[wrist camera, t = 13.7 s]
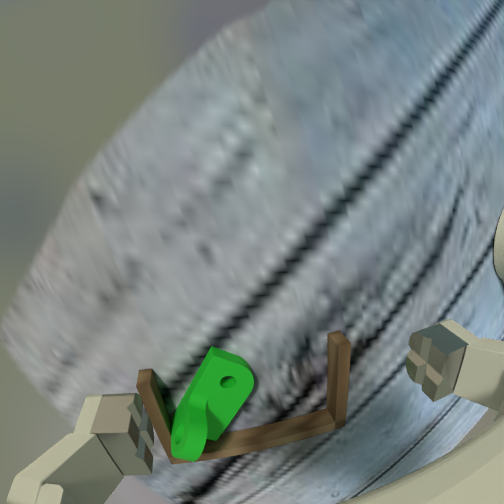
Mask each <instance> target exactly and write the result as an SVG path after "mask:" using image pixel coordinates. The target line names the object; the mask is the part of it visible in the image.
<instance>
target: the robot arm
mask: <svg viewBox="0 0 504 504" xmlns="http://www.w3.org/2000/svg"><path fill="white" fill-rule="evenodd" d="M494 264H495V269H496V272H497V274H498V276H499V277H500V278H501V279H502V280H503V282H504V209H503V211H502V214H501V216H500V219H499V222H498V226H497V230H496V235H495V242H494ZM409 346H410V348H411V350H410V352H409V354H408V355H407V358H406V369H407V373H408V375H409V377H410V378H411V379H412V380H413V381H414V382H415V383H418V384H421V385H422V391H423V392H424V393H425V394H426V395H427V396H428V397H429V398H430V399H431V400H432V401H433V402H434V401H437V400H439V399H441V398H443V397H445V396H447V395H449V394H451V393H453V394H455V395H458V396H460V397H463V398H465V399H468V400H470V401H473V402H475V403H478V404H481V405H483V406H486V407H489V408H491V409H494V410H497V411H498V413H497V415H496V417H495V419H494V422H493V423H492V424H491V425H490V426H488V427H487V428H485V429H484V430H483V431H481V432H480V433H478V434H477V435H475V436H474V437H472V438H471V439H469V440H468V441H466V442H465V443H463V444H462V445H460V446H459V447H457V448H455V449H454V450H452V451H450V452H449V453H447V454H445V455H443V456H442V457H440V458H438V459H436V460H435V461H433V462H431V463H429V464H427V465H425V466H424V467H422V468H420V469H418V470H416V471H414V472H412V473H410V474H408V475H406V476H404V477H402V478H399V479H397V480H395V481H393V482H391V483H389V484H386V485H384V486H382V487H379V488H377V489H375V490H372V491H370V492H367V493H365V494H362V495H359V496H357V497H354V498H351V499H349V500H346V501H343V502H340V503H337V504H504V341H498V340H493V339H487V338H481V339H479V338H478V337H476V336H475V335H473V334H472V333H470V332H469V331H467V330H466V329H464V328H463V327H462V326H460V325H459V324H457V323H456V322H454V321H453V320H450V319H446V320H444V321H441V322H439V323H437V324H435V325H433V326H430V327H427V328H425V329H422V330H419V331H417V332H414V333H412V335H411V336H410V339H409ZM153 445H154V432H153V426H152V423H151V420H150V417H149V415H148V414H147V413H145V412H144V411H143V401H142V399H141V397H140V395H139V394H138V393H125V394H105V395H89V396H87V397H86V399H85V401H84V404H83V407H82V410H81V413H80V415H79V418H78V421H77V424H76V427H75V430H74V433H73V434H68V435H66V436H65V437H64V438H63V439H61V440H60V441H59V442H58V443H56V444H55V445H54V446H53V447H52V448H50V449H49V450H48V451H46V452H45V453H44V454H43V455H41V456H40V457H39V458H38V459H36V460H35V461H34V462H33V463H31V464H30V465H29V466H28V467H27V468H25V469H24V470H23V471H21V472H20V473H19V474H17V475H16V476H15V479H14V481H13V484H12V487H11V489H10V492H9V495H8V498H7V501H6V504H104V503H105V501H106V500H107V499H108V497H109V496H110V495H111V493H112V492H113V491H114V490H115V488H116V487H117V486H118V484H119V483H120V482H121V480H122V479H123V478H124V476H127V475H150V474H152V467H153V455H152V454H151V452H150V448H151V447H152V446H153Z"/></svg>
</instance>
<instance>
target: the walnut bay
mask: <svg viewBox="0 0 504 504" xmlns="http://www.w3.org/2000/svg"><path fill="white" fill-rule="evenodd" d="M350 351H351V343H350V342H349V340H348V339H347V338H346V337H345V336H344V335H343V334H342V333H341V332H340V331H336V332H332V333H328V372H327V408H326V409H323V410H319V411H316V412H313V413H309V414H306V415H302V416H299V417H295V418H291V419H288V420H284V421H280V422H276V423H271V424H267V425H263V426H258V427H254V428H249V429H244V430H239V431H234V432H229V433H223V434H221V435H220V437H219V438H218V440H217V441H214V440H209V439H206V443H205V446H204V449H203V451H202V453H201V455H200V457H199V458H198V459H197V460H196V461H194V462H197V461H204V460H211V459H217V458H223V457H229V456H234V455H239V454H245V453H249V452H254V451H259V450H263V449H267V448H272V447H276V446H280V445H284V444H288V443H291V442H295V441H299V440H302V439H306V438H309V437H312V436H316V435H319V434H322V433H325V432H328V431H331V430H334V429H337V428H340V427H343V426H345V421H346V411H347V399H348V386H349V371H350ZM136 387H137V390H138V392H139V395H140V397H141V399H142V401H143V404H144V407H145V409H146V411H147V413H148V415H149V417H150V420H151V422H152V425H153V427H154V429H155V431H156V433H157V435H158V438H159V440H160V442H161V444H162V446H163V448H164V450H165V452H166V454H167V456H168V458H169V460H170V462H171V464H180V463H189V462H191V461H187V460H183V459H179V458H175V457H173V456H172V453H171V419H170V417H169V414H168V411H167V409H166V406H165V404H164V401H163V398H162V396H161V393H160V390H159V387H158V385H157V382H156V379H155V376H154V373H153V370H152V369H145V370H139V373H138V379H137V385H136Z"/></svg>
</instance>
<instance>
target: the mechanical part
mask: <svg viewBox="0 0 504 504" xmlns="http://www.w3.org/2000/svg"><path fill="white" fill-rule="evenodd" d="M225 376H232V377H231V378H229V379H222V378H223V377H225ZM253 386H254V378H253V375H252V372H251V369H250V367H249V365H248V363H247V362H246V361H245V360H244V359H243V358H241V357H239V356H237V355H234V354H232V353H229V352H226V351H223V350H220V349H218V348H215V347H212V346H211V348H210V350H209V352H208V354H207V355H206V357H205V359H204V361H203V363H202V364H201V366H200V368H199V370H198V372H197V373H196V375H195V377H194V379H193V380H192V382H191V384H190V386H189V388H188V389H187V391H186V393H185V395H184V397H183V398H182V400H181V402H180V404H179V405H178V407H177V409H176V411H175V413H174V414H173V416H172V418H171V453H172V456H173V457H175V458H179V459H183V460H187V461H191V462H194V461H196V460H197V459H198V458H199V457H200V455H201V453H202V451H203V449H204V446H205V443H206V439H209V440H214V441H217V440H218V438H219V437H220V435H221V434H222V433H223V431H224V430H225V428H226V427H227V426H228V424H229V423H230V421H231V420H232V419H233V417H234V416H235V414H236V413H237V411H238V410H239V409H240V407H241V406H242V404H243V403H244V401H245V400H246V398H247V397H248V395H249V394H250V392H251V391H252V389H253Z"/></svg>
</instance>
